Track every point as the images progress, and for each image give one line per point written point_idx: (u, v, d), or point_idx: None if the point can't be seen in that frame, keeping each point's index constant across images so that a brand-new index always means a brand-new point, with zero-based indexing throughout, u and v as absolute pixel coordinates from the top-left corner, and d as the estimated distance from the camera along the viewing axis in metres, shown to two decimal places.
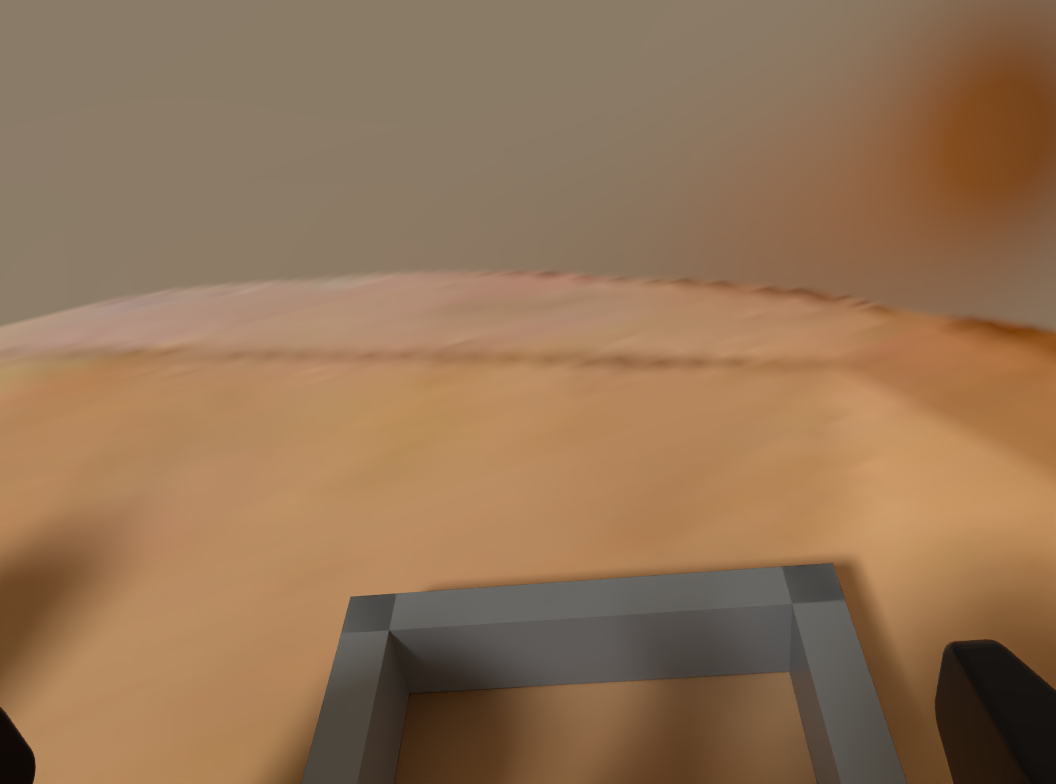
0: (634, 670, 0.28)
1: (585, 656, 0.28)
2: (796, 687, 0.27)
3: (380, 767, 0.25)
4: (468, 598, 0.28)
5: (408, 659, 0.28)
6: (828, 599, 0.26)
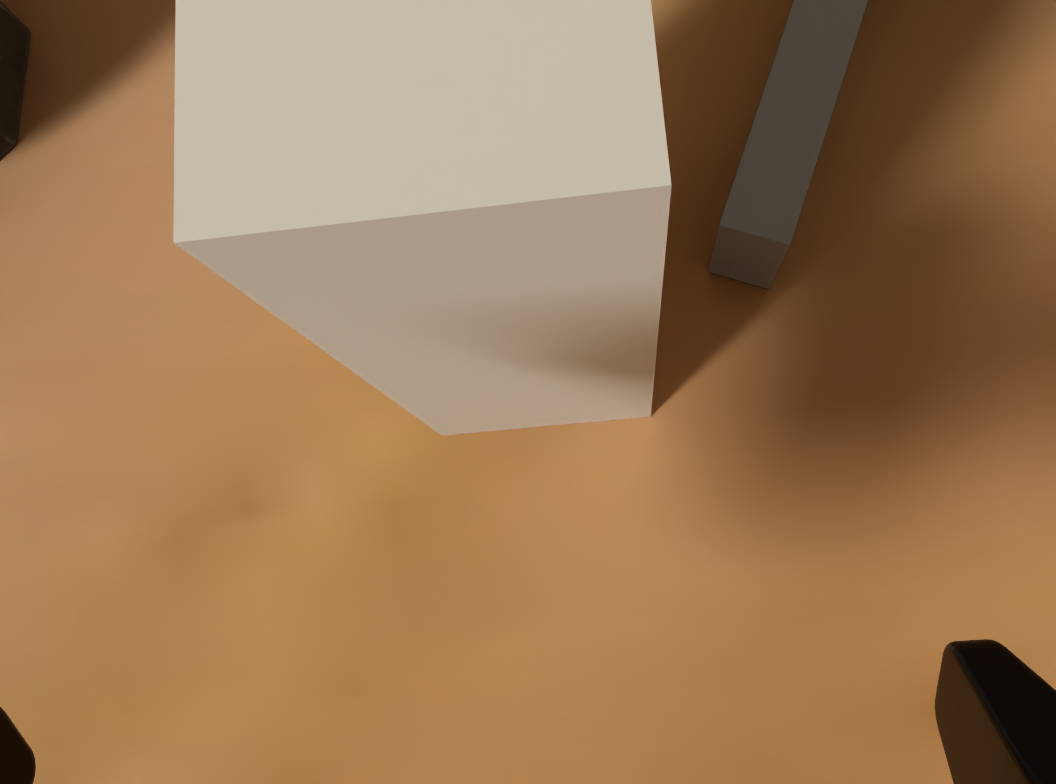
0: None
1: None
2: None
3: None
4: None
5: None
6: None
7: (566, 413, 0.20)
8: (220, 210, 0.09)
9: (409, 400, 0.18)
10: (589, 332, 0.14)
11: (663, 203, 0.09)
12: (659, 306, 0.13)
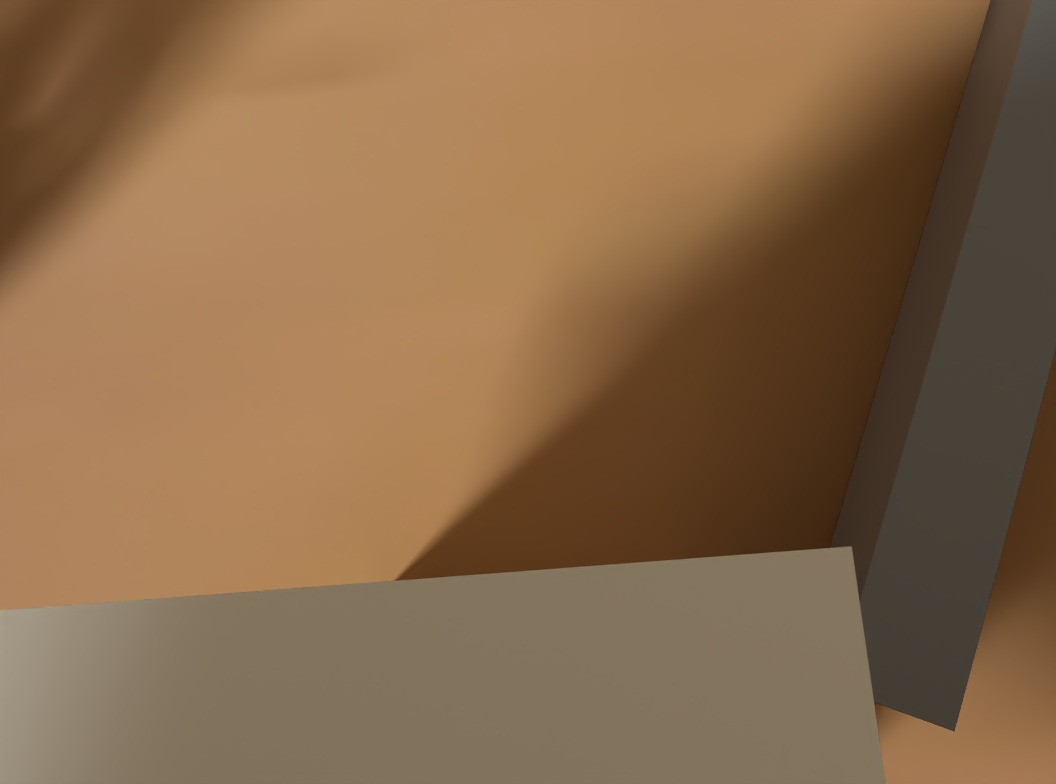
0: None
1: None
2: None
3: None
4: None
5: None
6: None
7: None
8: None
9: None
10: None
11: None
12: None
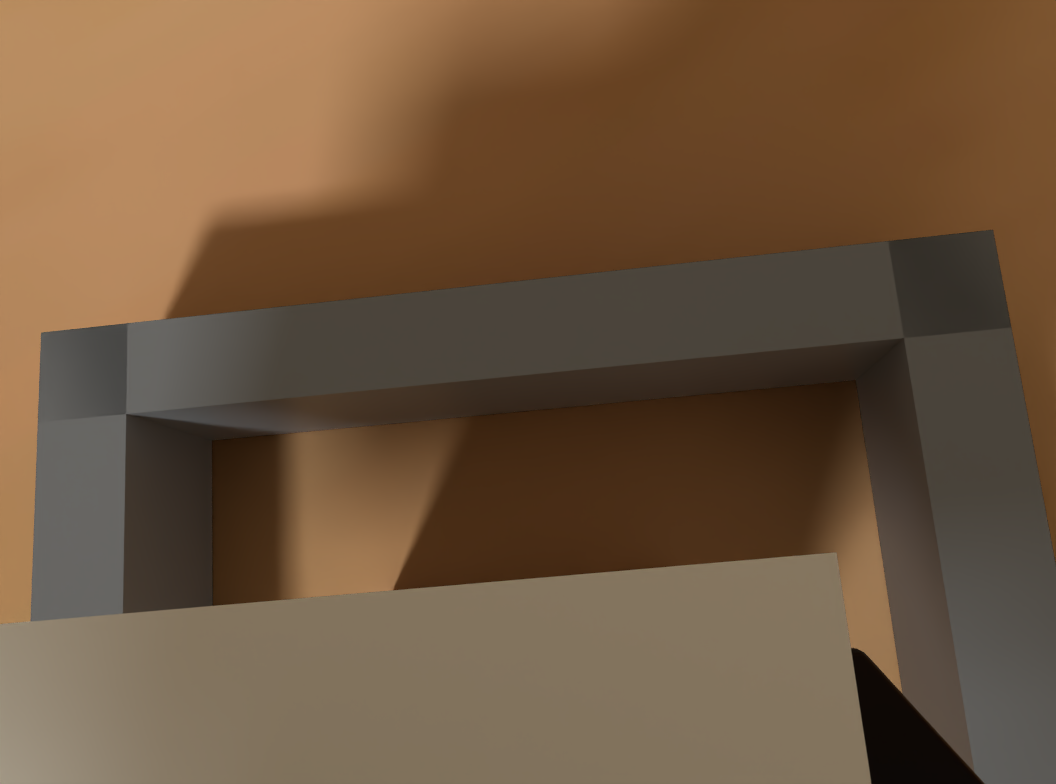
0: (589, 400, 0.16)
1: (502, 399, 0.16)
2: (870, 429, 0.15)
3: None
4: (267, 333, 0.14)
5: (187, 425, 0.16)
6: (977, 325, 0.13)
7: None
8: None
9: None
10: None
11: None
12: None
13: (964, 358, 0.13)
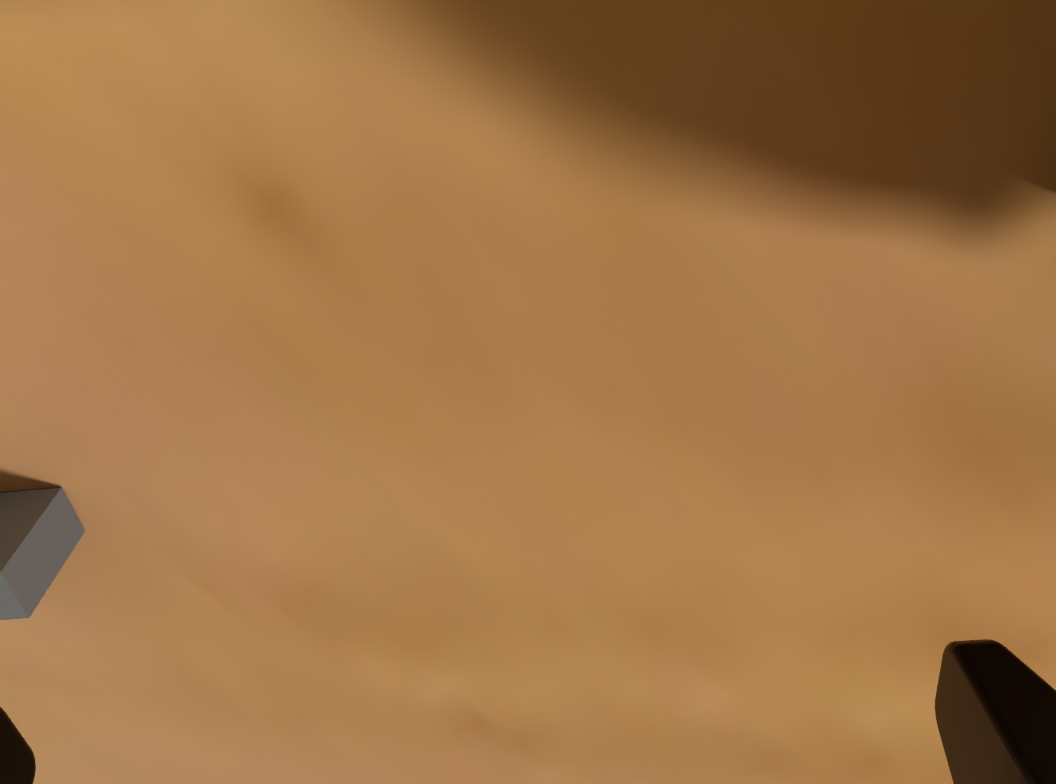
0: None
1: None
2: None
3: None
4: None
5: None
6: None
7: None
8: None
9: None
10: None
11: None
12: None
13: None
